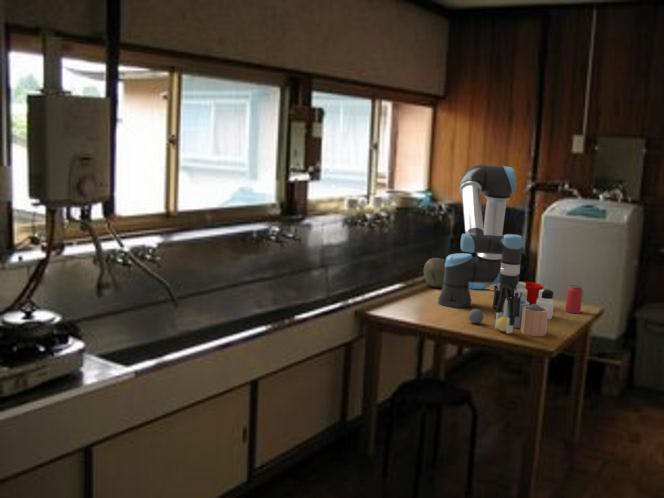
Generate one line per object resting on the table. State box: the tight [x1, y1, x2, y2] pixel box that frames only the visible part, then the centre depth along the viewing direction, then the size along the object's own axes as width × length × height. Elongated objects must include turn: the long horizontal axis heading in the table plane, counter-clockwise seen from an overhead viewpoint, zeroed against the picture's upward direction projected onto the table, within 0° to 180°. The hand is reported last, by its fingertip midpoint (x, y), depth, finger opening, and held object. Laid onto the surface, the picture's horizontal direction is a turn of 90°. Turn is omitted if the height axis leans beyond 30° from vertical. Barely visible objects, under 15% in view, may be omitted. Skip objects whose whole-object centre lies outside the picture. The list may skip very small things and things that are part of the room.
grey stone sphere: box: [422, 257, 446, 289], centre depth 374 cm, size 14×14×15 cm
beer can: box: [565, 284, 584, 314], centre depth 337 cm, size 7×7×12 cm
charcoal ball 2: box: [527, 304, 542, 311], centre depth 296 cm, size 6×6×6 cm
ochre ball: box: [497, 316, 508, 333], centre depth 294 cm, size 6×6×6 cm
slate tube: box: [502, 299, 529, 329], centre depth 306 cm, size 10×10×10 cm
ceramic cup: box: [522, 281, 544, 306], centre depth 347 cm, size 13×17×10 cm
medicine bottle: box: [536, 288, 555, 320], centre depth 325 cm, size 7×7×12 cm
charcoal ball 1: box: [468, 308, 485, 324], centre depth 306 cm, size 6×6×6 cm
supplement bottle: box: [516, 281, 527, 301], centre depth 333 cm, size 7×7×13 cm
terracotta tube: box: [519, 306, 549, 337], centre depth 296 cm, size 10×10×10 cm
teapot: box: [469, 283, 489, 290], centre depth 379 cm, size 15×15×10 cm
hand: (503, 330), depth 294 cm, fingers closed on ochre ball, 6 cm apart
